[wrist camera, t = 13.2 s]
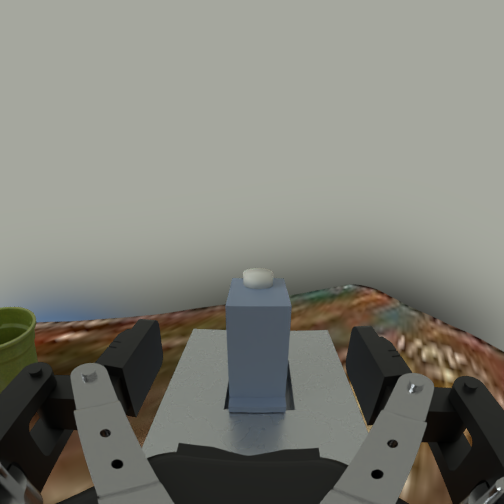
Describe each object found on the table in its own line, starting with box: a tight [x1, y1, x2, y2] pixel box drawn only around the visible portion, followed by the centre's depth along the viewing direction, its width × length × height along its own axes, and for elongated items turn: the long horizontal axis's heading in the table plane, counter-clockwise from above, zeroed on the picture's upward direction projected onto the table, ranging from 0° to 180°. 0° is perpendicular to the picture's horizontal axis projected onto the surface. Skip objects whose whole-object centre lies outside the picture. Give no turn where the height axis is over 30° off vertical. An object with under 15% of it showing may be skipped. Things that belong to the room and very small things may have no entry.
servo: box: [226, 268, 291, 413], centre depth 24 cm, size 10×4×12 cm, turn 179°
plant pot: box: [0, 307, 38, 393], centre depth 19 cm, size 9×9×9 cm
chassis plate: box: [142, 329, 368, 465], centre depth 25 cm, size 20×16×2 cm
